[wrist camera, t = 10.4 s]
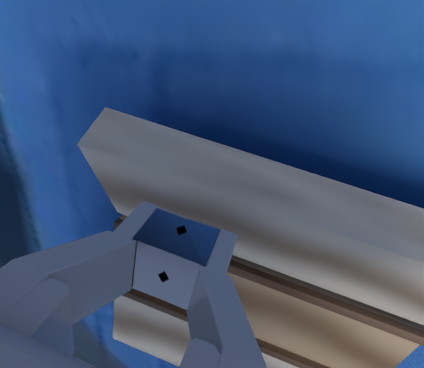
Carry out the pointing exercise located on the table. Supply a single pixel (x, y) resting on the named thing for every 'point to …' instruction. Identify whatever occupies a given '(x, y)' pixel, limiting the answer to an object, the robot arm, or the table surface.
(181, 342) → the plank
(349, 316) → the laid board
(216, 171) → the plank
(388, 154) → the table surface
